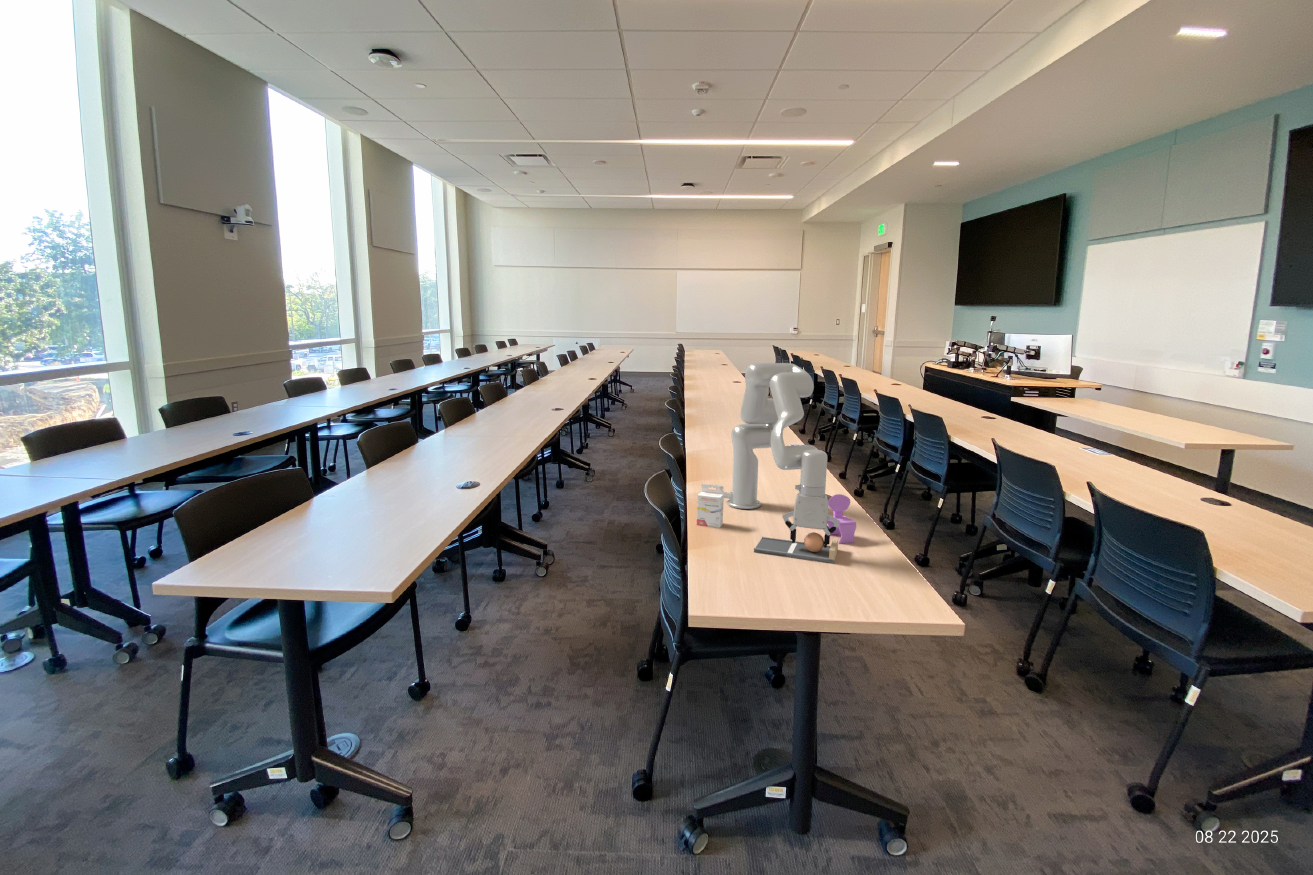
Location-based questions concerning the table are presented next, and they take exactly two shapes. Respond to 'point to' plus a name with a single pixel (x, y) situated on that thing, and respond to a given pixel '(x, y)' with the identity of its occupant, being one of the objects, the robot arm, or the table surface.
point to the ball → (814, 542)
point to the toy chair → (842, 518)
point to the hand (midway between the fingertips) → (809, 544)
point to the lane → (796, 550)
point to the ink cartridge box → (710, 506)
